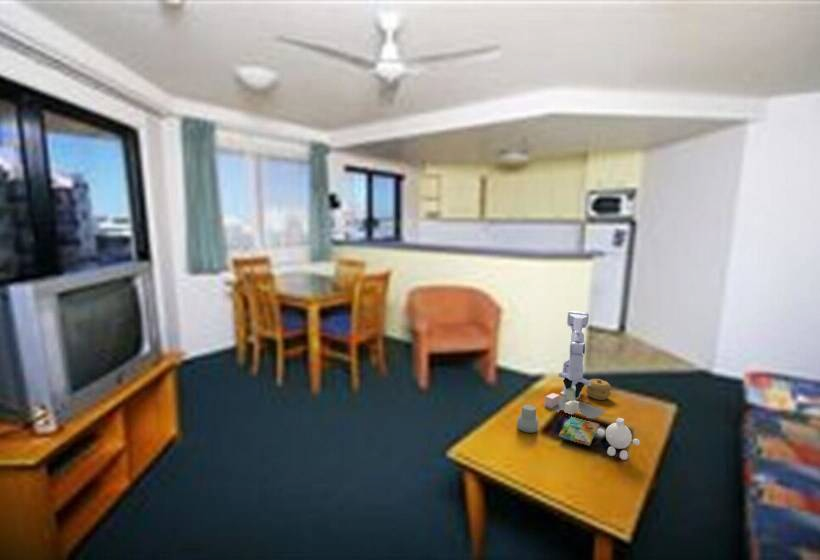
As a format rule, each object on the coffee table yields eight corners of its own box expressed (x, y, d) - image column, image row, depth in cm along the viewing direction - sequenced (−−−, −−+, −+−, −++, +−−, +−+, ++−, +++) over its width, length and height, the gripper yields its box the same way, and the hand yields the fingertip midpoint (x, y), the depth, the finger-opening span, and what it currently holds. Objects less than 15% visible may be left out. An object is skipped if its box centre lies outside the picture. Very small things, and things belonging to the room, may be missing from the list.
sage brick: (572, 395, 204) (573, 385, 203) (579, 397, 201) (580, 388, 201) (565, 398, 199) (566, 389, 199) (572, 401, 197) (573, 391, 196)
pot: (602, 393, 226) (604, 375, 225) (614, 402, 215) (616, 383, 213) (581, 393, 226) (582, 375, 224) (591, 402, 214) (593, 383, 213)
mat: (563, 396, 220) (563, 395, 220) (606, 411, 204) (606, 410, 204) (542, 406, 207) (542, 406, 207) (587, 423, 191) (587, 423, 191)
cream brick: (571, 408, 205) (572, 399, 204) (578, 411, 202) (579, 402, 202) (564, 412, 200) (564, 403, 200) (571, 415, 198) (572, 405, 197)
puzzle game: (599, 422, 183) (589, 440, 167) (598, 432, 184) (588, 452, 167) (571, 414, 190) (559, 431, 173) (570, 424, 190) (558, 442, 174)
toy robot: (593, 453, 166) (596, 417, 164) (597, 443, 174) (601, 408, 172) (636, 466, 158) (640, 428, 156) (638, 455, 166) (643, 419, 164)
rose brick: (552, 401, 212) (552, 392, 211) (558, 404, 210) (559, 395, 209) (544, 405, 207) (545, 396, 207) (551, 407, 205) (552, 398, 204)
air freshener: (536, 437, 177) (538, 414, 175) (516, 433, 180) (518, 410, 178) (537, 425, 187) (539, 404, 186) (518, 422, 190) (520, 400, 188)
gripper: (556, 365, 201) (554, 392, 203) (586, 374, 190) (583, 403, 192) (564, 362, 206) (561, 389, 207) (593, 370, 195) (591, 399, 197)
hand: (572, 395), depth 200 cm, fingers closed on sage brick, 3 cm apart
